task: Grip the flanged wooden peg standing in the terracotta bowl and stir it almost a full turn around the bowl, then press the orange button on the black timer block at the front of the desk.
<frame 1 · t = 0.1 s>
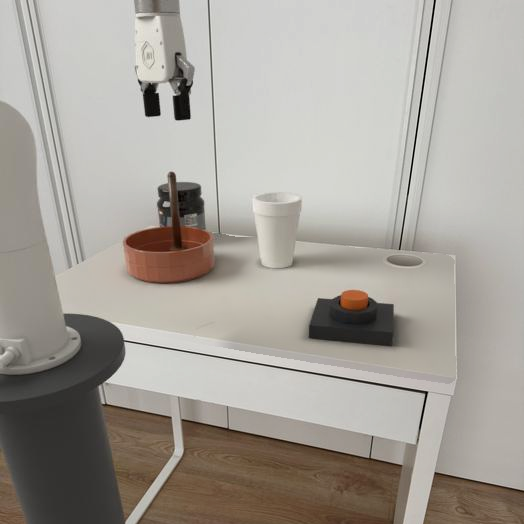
hand: (167, 118, 96), 27 cm above the table, tool pointing down, fingers open, 9 cm apart
flanged wooden peg: (176, 230, 104), point 6 cm above the table, hinge at 0.0°
timer button: (354, 300, 77), point 4 cm above the table, slide at 0.1 cm
supplement container: (184, 240, 119), on the table
foam cup: (276, 263, 105), on the table
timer: (352, 327, 80), on the table
bowl: (171, 267, 103), on the table
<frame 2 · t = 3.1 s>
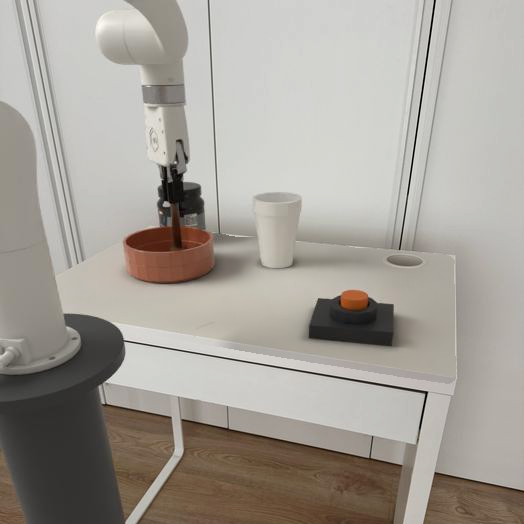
hand: (173, 200, 101), 12 cm above the table, tool pointing down, fingers closed on flanged wooden peg
flanged wooden peg: (176, 230, 104), point 6 cm above the table, hinge at 0.1°, touching gripper
everything else where it was.
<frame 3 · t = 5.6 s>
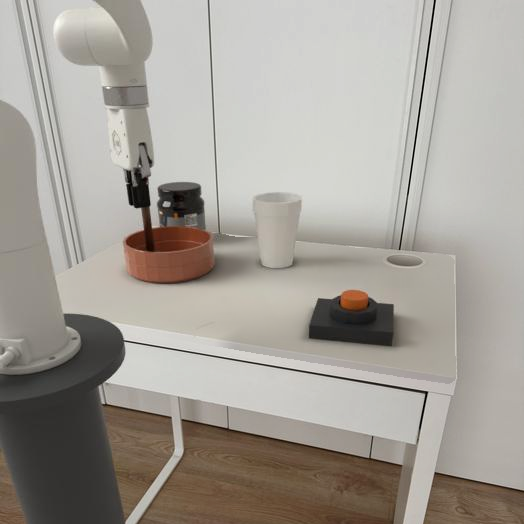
hand: (139, 205, 98), 12 cm above the table, tool pointing down, fingers closed
flanged wooden peg: (148, 234, 102), point 6 cm above the table, hinge at 79.6°, touching gripper
everything else where it was.
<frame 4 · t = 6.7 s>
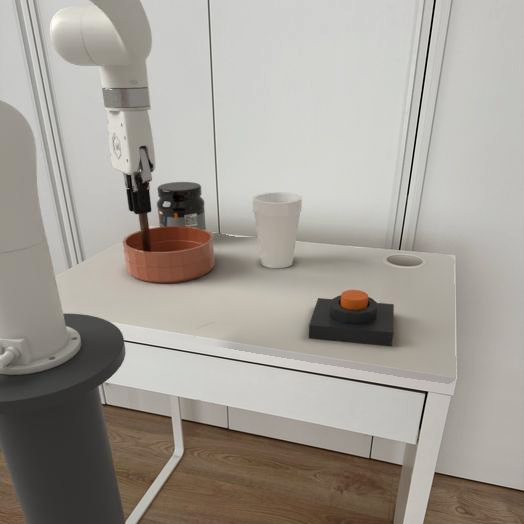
hand: (140, 211, 95), 12 cm above the table, tool pointing down, fingers closed on flanged wooden peg
flanged wooden peg: (146, 241, 98), point 6 cm above the table, hinge at 135.5°, touching gripper
everything else where it was.
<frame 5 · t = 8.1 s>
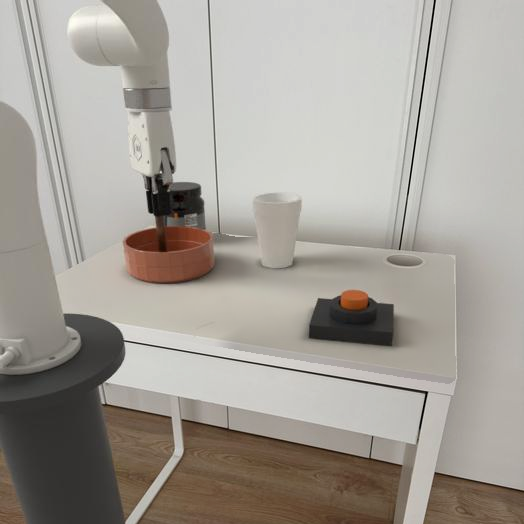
hand: (159, 213, 93), 12 cm above the table, tool pointing down, fingers closed on flanged wooden peg
flanged wooden peg: (162, 244, 96), point 6 cm above the table, hinge at 188.1°, touching gripper
everything else where it was.
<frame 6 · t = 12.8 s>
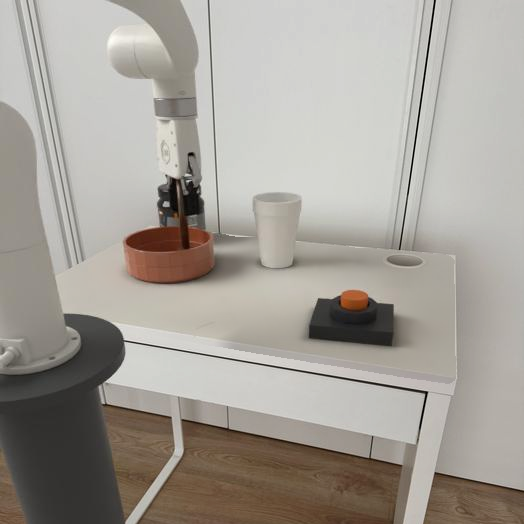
hand: (184, 210, 101), 10 cm above the table, tool pointing down, fingers open, 5 cm apart
flanged wooden peg: (184, 231, 103), point 6 cm above the table, hinge at 336.4°
everything else where it was.
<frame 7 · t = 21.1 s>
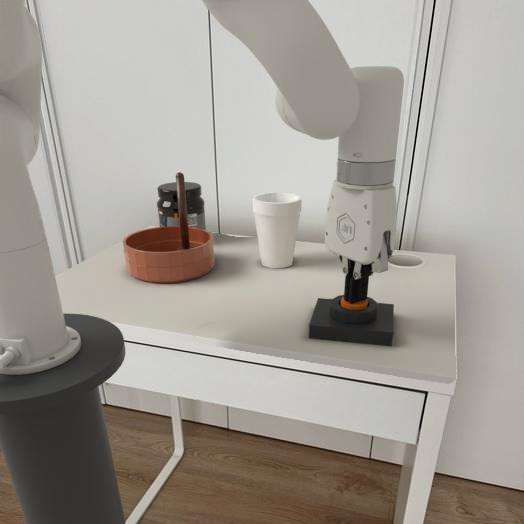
hand: (355, 299, 77), 5 cm above the table, tool pointing down, fingers closed
timer button: (353, 305, 78), point 4 cm above the table, slide at -0.8 cm, touching gripper
everything else where it was.
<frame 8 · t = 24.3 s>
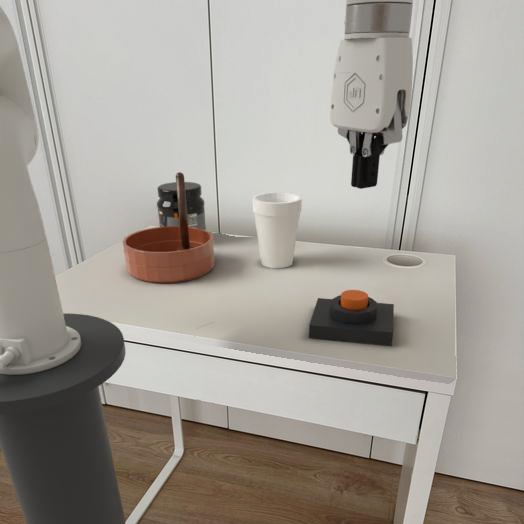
hand: (363, 186, 69), 21 cm above the table, tool pointing down, fingers closed
timer button: (354, 300, 77), point 4 cm above the table, slide at 0.1 cm
everything else where it was.
at the end: flanged wooden peg reached +337° during the clip, +336° at the end; timer button pushed in 1.1 cm at the most during the clip, back to where it started at the end; timer button slide at 0.1 cm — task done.
